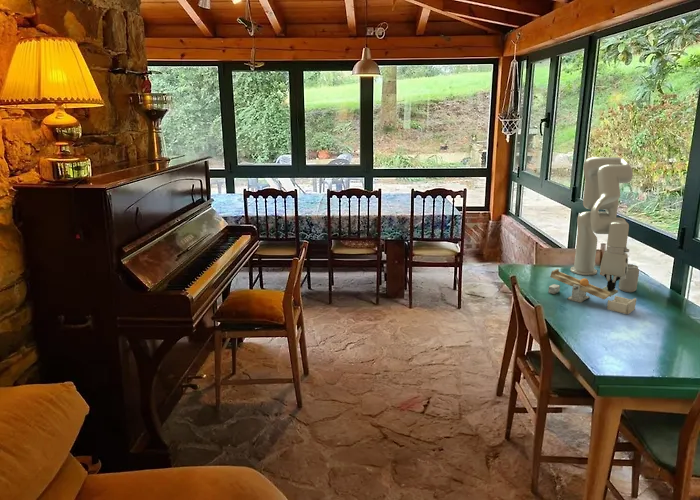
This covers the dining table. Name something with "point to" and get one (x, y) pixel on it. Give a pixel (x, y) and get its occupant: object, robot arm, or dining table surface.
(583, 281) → the ball
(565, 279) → the lever
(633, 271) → the can
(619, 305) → the dish
